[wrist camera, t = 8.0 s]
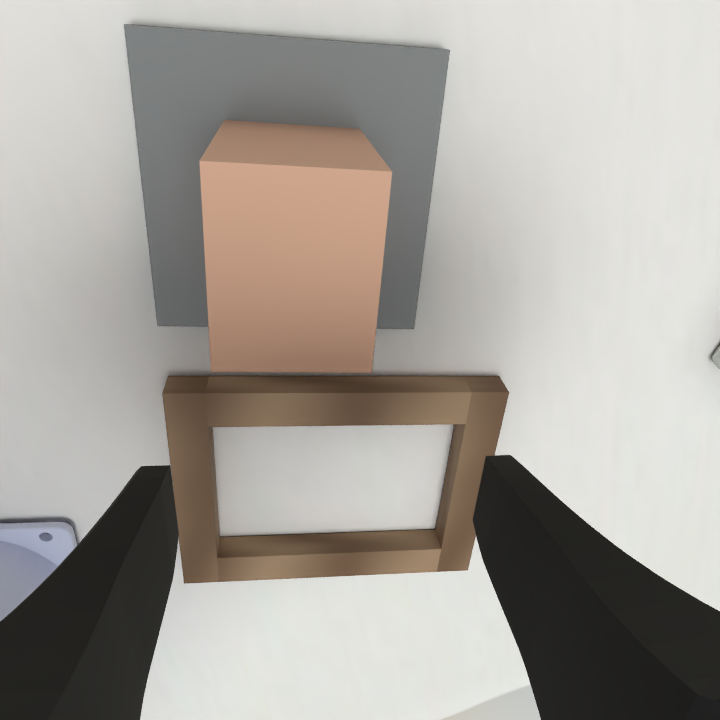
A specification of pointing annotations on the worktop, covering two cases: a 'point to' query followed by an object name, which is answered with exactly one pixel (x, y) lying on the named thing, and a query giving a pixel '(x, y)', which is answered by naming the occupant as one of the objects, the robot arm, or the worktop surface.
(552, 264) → the worktop surface
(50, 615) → the robot arm
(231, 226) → the terracotta block
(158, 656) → the worktop surface
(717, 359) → the skincare box
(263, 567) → the walnut frame
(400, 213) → the slate mat
